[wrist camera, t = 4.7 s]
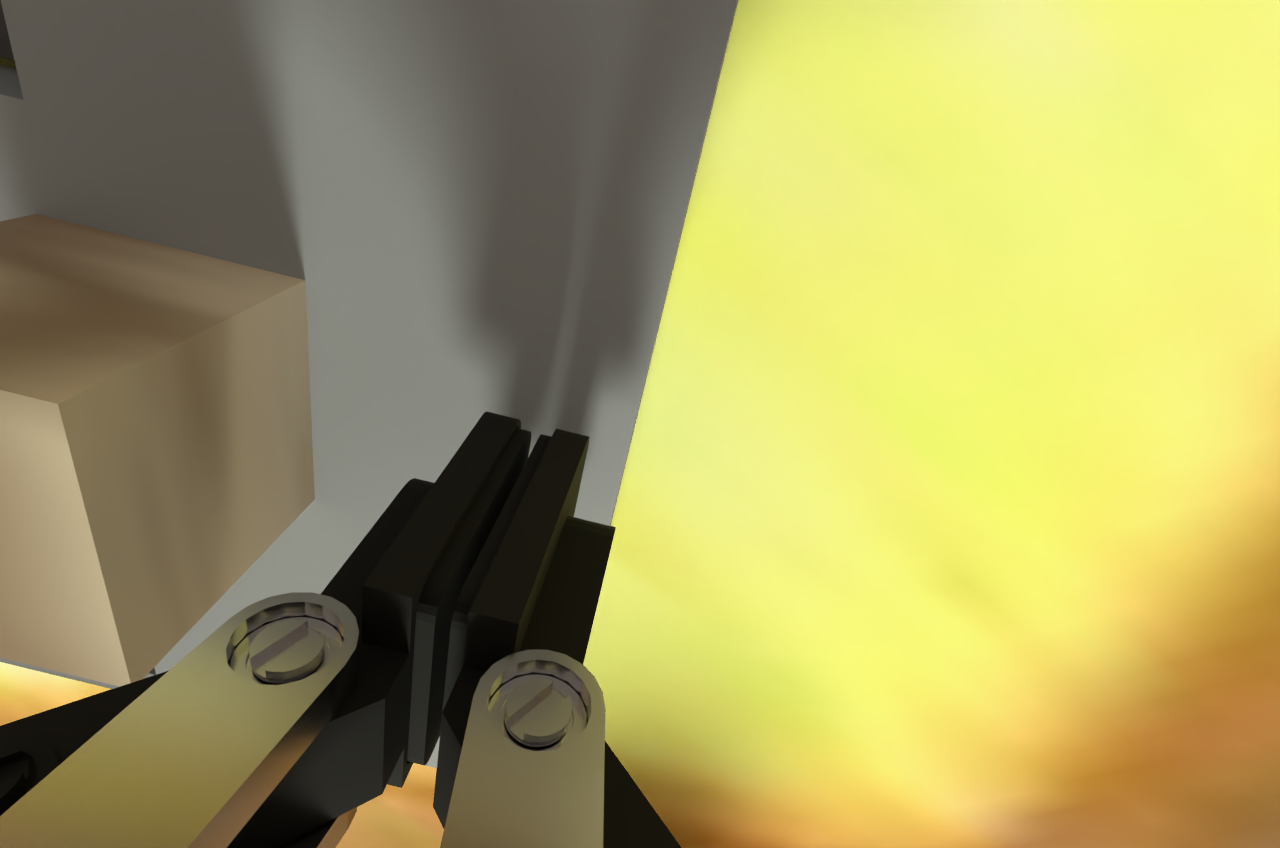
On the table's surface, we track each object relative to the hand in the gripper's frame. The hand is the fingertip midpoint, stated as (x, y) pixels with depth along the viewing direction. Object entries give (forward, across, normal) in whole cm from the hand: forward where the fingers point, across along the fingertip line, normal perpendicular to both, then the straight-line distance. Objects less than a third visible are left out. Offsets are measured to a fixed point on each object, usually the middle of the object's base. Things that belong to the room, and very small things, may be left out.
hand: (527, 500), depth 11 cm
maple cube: (+1, +7, 0) cm, 7 cm away
